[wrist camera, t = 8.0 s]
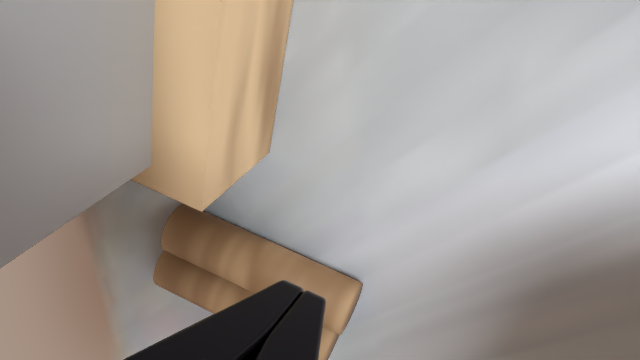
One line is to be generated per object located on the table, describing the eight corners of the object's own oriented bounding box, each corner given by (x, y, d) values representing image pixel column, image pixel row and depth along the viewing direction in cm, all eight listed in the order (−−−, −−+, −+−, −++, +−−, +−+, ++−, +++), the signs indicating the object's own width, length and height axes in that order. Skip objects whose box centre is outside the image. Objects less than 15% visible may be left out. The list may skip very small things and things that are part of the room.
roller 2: (347, 308, 26) (327, 343, 25) (337, 341, 28) (317, 378, 26) (184, 231, 29) (153, 258, 27) (181, 266, 30) (152, 294, 28)
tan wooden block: (315, -141, 18) (231, -138, 14) (269, 152, 24) (201, 211, 20) (128, -190, 20) (7, -200, 16) (129, 95, 26) (42, 139, 22)
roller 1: (367, 272, 25) (346, 307, 23) (355, 309, 26) (335, 345, 24) (193, 194, 27) (161, 220, 25) (190, 233, 29) (160, 260, 27)
